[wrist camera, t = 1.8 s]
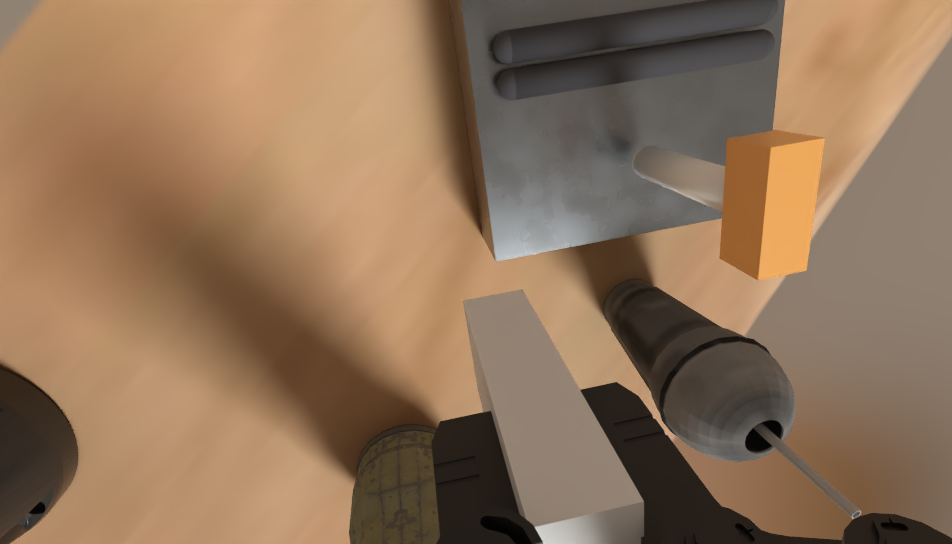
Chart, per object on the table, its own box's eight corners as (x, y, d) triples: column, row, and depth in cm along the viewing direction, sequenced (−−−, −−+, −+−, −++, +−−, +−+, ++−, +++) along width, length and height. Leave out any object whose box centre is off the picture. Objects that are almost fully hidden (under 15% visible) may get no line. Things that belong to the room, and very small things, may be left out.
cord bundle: (496, 101, 27) (502, 103, 26) (488, 33, 26) (494, 31, 24) (760, 58, 28) (780, 58, 27) (765, -8, 27) (787, -13, 26)
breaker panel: (482, 236, 35) (496, 261, 31) (427, -148, 26) (435, -193, 22) (718, 192, 37) (764, 209, 32) (739, -184, 28) (807, -233, 24)
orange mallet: (625, 204, 29) (757, 280, 19) (623, 117, 27) (771, 147, 17) (657, 198, 30) (806, 270, 19) (658, 111, 28) (824, 137, 17)
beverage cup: (616, 249, 37) (832, 421, 19) (690, 281, 39) (949, 464, 21) (570, 329, 39) (726, 554, 21) (643, 355, 41) (842, 581, 23)
